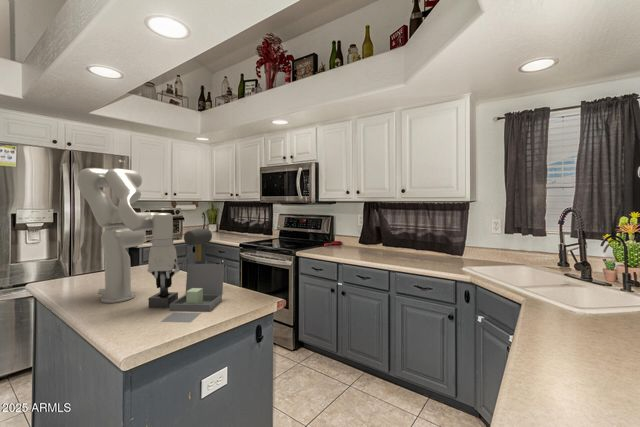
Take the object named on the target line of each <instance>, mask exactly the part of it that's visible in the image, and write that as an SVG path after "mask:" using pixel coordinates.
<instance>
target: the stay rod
mask: <svg viewBox="0 0 640 427" xmlns="http://www.w3.org/2000/svg"><path fill="white" fill-rule="evenodd" d="M166 278H167V276H166V271H160V288H159V292H160V296H165V295H168V292H169V288H166V287H165V279H166Z"/></svg>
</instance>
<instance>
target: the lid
mask: <svg viewBox="0 0 640 427" xmlns="http://www.w3.org/2000/svg"><path fill="white" fill-rule="evenodd" d="M186 271H187V272H186V281H185V282H186V283H185V293H186V292H187V291H188V290H190V289H191V288H203V295H222V296H223V293H224V292H223V291H224V275H225V273H224V272H225V264H224V263H222V264H220V263H217V264H215V263H202V264H195V263H187V268H186Z"/></svg>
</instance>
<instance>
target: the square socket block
mask: <svg viewBox="0 0 640 427" xmlns="http://www.w3.org/2000/svg"><path fill="white" fill-rule="evenodd" d="M177 299H179V292H178V291H177V292H173V291H172V292H171V291H170V292H169V291H168V295H165V296H160V291H159V292H157V293H155V294H153V295H151V296H149V297H148V309H170V304H171V303H172V302H174V301H176V300H177Z"/></svg>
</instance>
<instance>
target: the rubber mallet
mask: <svg viewBox="0 0 640 427" xmlns="http://www.w3.org/2000/svg"><path fill="white" fill-rule="evenodd" d="M212 237H213V234H212V231H211V230H210V229H208V228H197V229H191V230H187V231H185V233H184V234H183V240H184V243H185V244H186V245H188V246H195V261H194V264H203V261H202V245H204V244H207V243H210V242H211V241H212Z"/></svg>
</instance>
